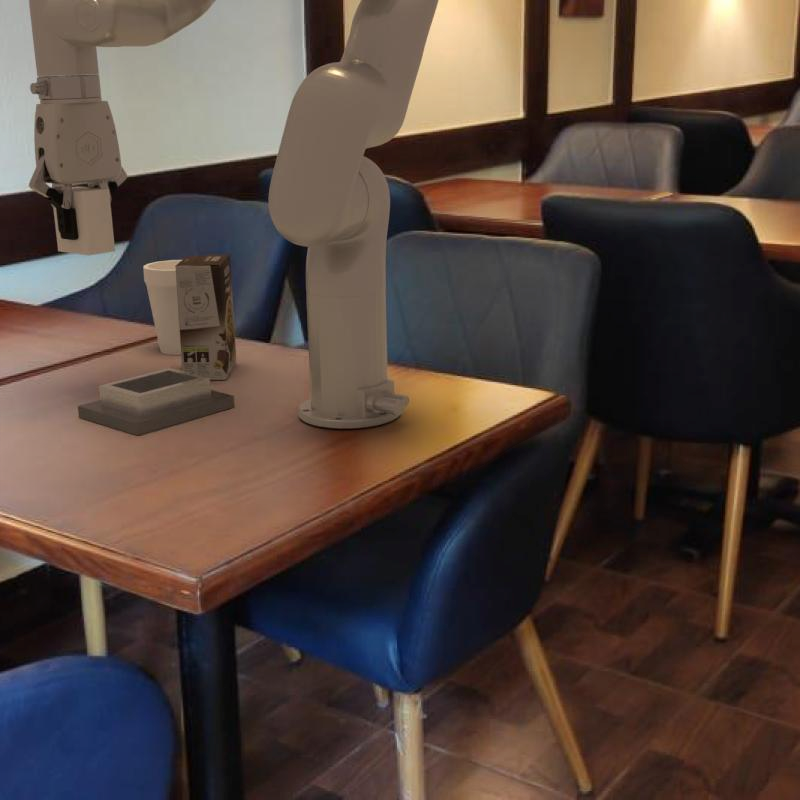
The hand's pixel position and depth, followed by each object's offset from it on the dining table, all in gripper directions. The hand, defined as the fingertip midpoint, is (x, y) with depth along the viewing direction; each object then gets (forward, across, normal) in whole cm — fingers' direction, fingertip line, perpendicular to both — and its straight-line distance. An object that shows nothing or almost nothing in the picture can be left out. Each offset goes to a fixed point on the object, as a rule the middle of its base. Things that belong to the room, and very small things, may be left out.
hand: (85, 235), depth 156 cm
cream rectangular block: (+2, 0, 0) cm, 2 cm away
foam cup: (+21, +21, +10) cm, 31 cm away
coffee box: (+21, +15, -4) cm, 26 cm away
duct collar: (+21, -2, -15) cm, 26 cm away
